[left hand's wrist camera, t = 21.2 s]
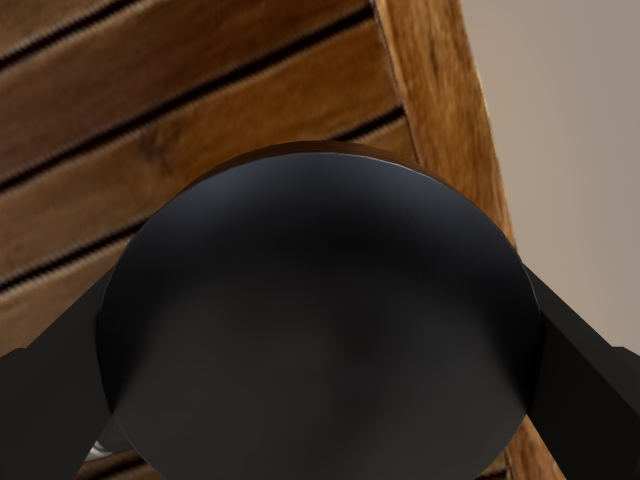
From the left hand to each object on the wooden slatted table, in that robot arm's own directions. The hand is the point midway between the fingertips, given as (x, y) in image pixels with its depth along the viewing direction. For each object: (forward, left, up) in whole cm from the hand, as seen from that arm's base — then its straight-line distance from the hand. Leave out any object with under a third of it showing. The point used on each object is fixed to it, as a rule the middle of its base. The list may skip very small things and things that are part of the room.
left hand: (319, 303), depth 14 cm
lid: (0, 0, +3) cm, 3 cm away
